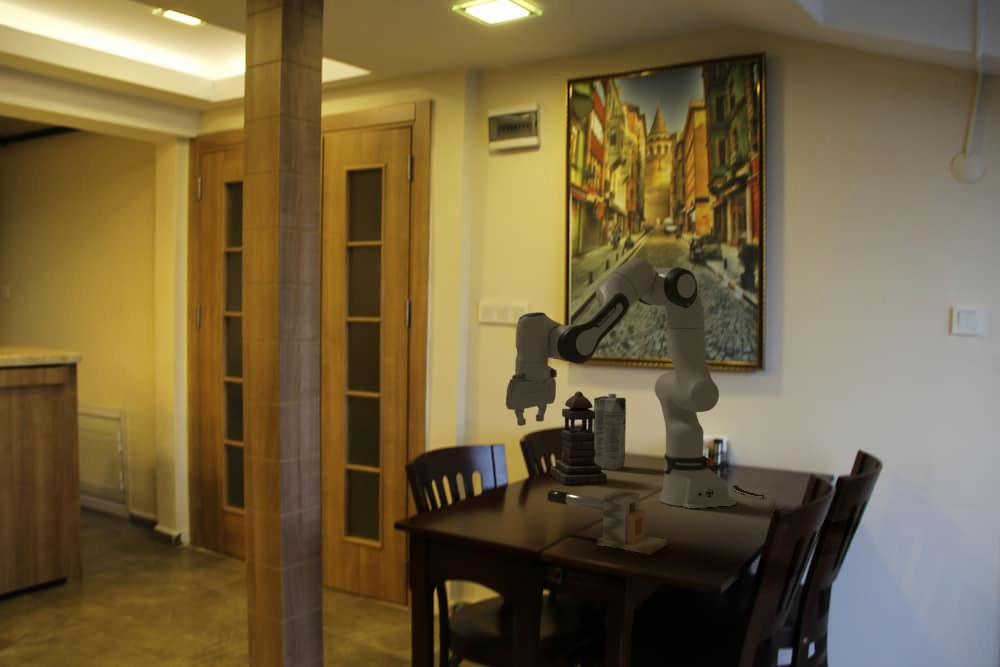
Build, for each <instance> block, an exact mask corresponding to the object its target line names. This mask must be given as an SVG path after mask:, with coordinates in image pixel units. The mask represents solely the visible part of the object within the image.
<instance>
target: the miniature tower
mask: <svg viewBox="0 0 1000 667" xmlns="http://www.w3.org/2000/svg"><path fill="white" fill-rule="evenodd" d="M564 406H565V407H568V408H562V409H561V413H562V414H561V417H562V418H564V429H561V438H562V440H561V441H562V443H561V445H562V451H561V452H562V454H561V457H562V458H561V459H556V460H555V465H554V466H553V465H551V466H550V468H549V469H550V470H549V471H550V472H549V473H550V476H551V475H552V478H554V479H555V480H557V481H558V482H560V483H561V484H562V485H563V486H576V485H575V484H584V485H596V484H595V483H598V484H599V483H605V484H607V482H608V481H607V479H608V478H607V477H608V475H607V474H606V473H605V472H603V471H602V469H601V466H600V465H598V464H596V463H595V458H594V457H595V451H596V450H595V442H594V440H595V433H594V432H593V422H594V419H595V411H594V409H593V408H594V405H593V404H592V403H591V401H590V400H589V398H587V397H586V396H585V395H584V394H583V392H582V391H580V390H579V391H576V392H575V393H574V395H572V396H570V397H569V398H568V399H567V400H566V401H565V404H564ZM577 420H579V421H581V428H579V429H578V428H577V429H576V428H575V427H576V426H575V424H576V423H575V422H576V421H577ZM572 484H573V485H572Z"/></svg>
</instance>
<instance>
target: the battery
mask: <svg viewBox="0 0 1000 667" xmlns="http://www.w3.org/2000/svg"><path fill="white" fill-rule="evenodd" d="M626 401H627V399H626V397H617V394H616V393H608V395H607V396H606V395H603V396H598V397H595V398H594V399H593V411H595V419H593V432H594V433H595V440H594V442H595V450H596V451H595V457H594V458H595V463H596V464H598V465H600V466H601V468H605V469H604V470H606V469H612V470H611V471H614V470H615V471H617V470H616V469H618V468H620V469H622V468H621V467H623V468H624V465H625V459H626V435H627V434H626V426H627V425H626V424H627V423H626V421H627V407H626V406H627V404H626ZM618 470H619V469H618Z"/></svg>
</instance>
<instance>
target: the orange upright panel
mask: <svg viewBox="0 0 1000 667" xmlns="http://www.w3.org/2000/svg"><path fill="white" fill-rule="evenodd" d="M645 520H646V510H645V509H641V508H639V509H638V510H636V511H634V512H632V513H630V514H627V542H626V543H629V544H634V543H636V542H637V541H639V540H641V539H643V538H644V536H645V533H646V532H645V531H646V530H645V524H646V521H645ZM635 524H636V532H635Z"/></svg>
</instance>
